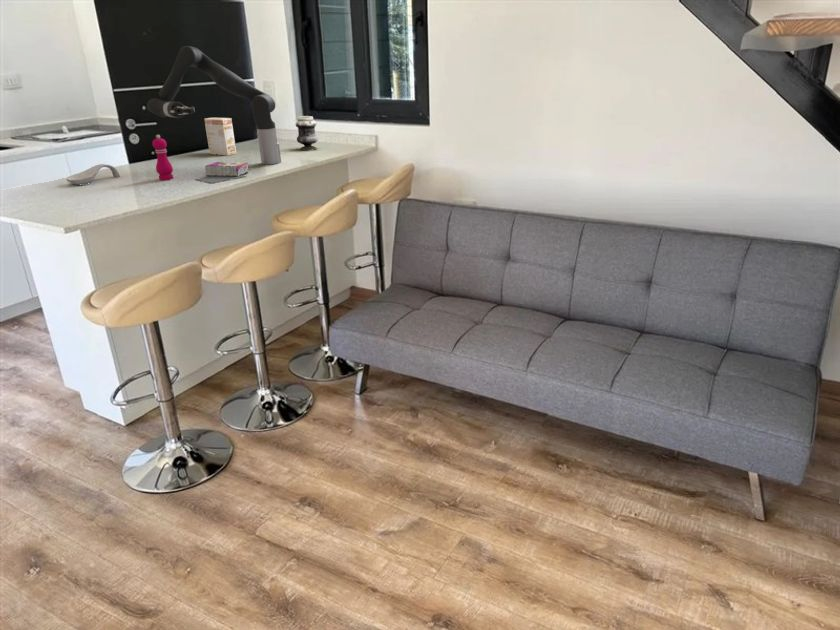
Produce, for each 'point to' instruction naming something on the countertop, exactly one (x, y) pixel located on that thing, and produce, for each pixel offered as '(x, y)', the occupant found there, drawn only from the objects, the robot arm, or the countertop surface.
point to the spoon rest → (90, 174)
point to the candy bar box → (227, 169)
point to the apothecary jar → (306, 132)
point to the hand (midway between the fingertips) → (191, 111)
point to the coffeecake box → (220, 136)
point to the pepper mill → (162, 159)
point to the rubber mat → (218, 178)
